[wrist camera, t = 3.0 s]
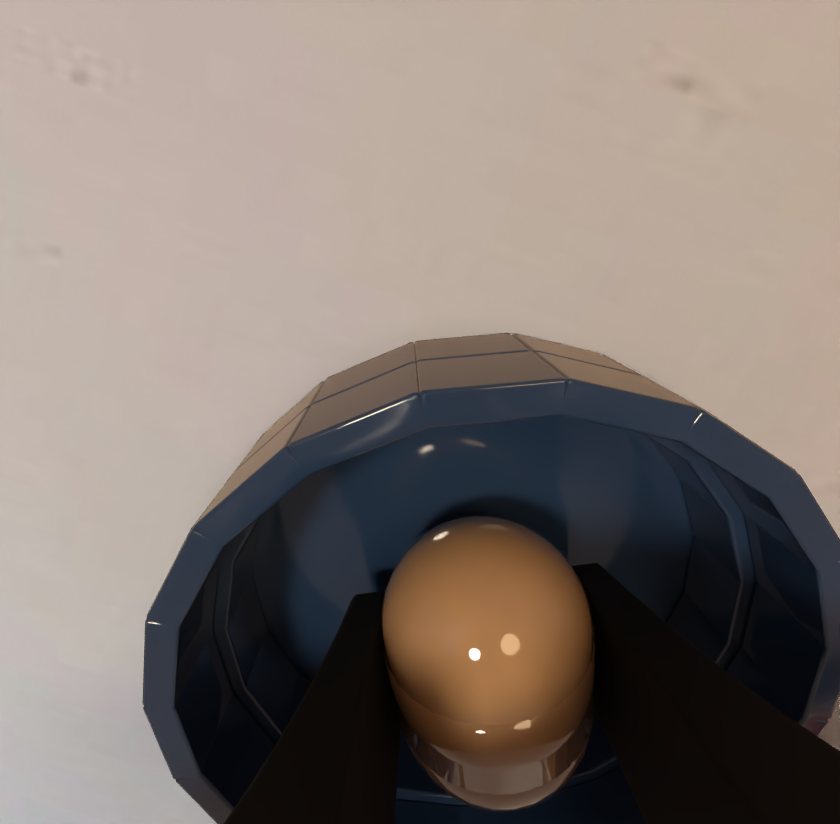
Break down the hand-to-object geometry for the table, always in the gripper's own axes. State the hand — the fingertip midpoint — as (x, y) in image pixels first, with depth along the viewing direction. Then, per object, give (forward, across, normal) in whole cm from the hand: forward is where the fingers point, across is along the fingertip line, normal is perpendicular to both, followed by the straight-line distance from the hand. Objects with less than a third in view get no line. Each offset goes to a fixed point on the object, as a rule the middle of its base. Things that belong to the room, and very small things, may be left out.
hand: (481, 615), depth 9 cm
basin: (+1, 0, 0) cm, 1 cm away
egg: (+1, 0, 0) cm, 1 cm away
